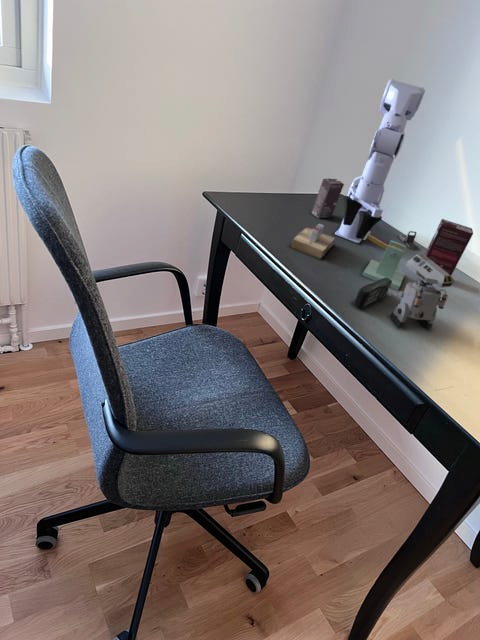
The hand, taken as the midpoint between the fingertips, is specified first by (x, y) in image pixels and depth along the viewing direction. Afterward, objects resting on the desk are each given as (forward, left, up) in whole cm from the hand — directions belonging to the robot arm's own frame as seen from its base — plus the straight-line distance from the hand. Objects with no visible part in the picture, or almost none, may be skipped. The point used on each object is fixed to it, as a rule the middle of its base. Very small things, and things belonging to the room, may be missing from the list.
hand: (353, 231), depth 122 cm
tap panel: (-5, -10, -10) cm, 15 cm away
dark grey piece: (+12, +12, -10) cm, 19 cm away
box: (-31, -15, -10) cm, 36 cm away
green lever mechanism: (-4, +12, -10) cm, 16 cm away
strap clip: (-36, +14, -10) cm, 40 cm away
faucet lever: (-4, +8, -3) cm, 9 cm away
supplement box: (-17, +24, -10) cm, 31 cm away
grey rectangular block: (-5, -10, -8) cm, 13 cm away
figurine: (+14, +21, -10) cm, 27 cm away
